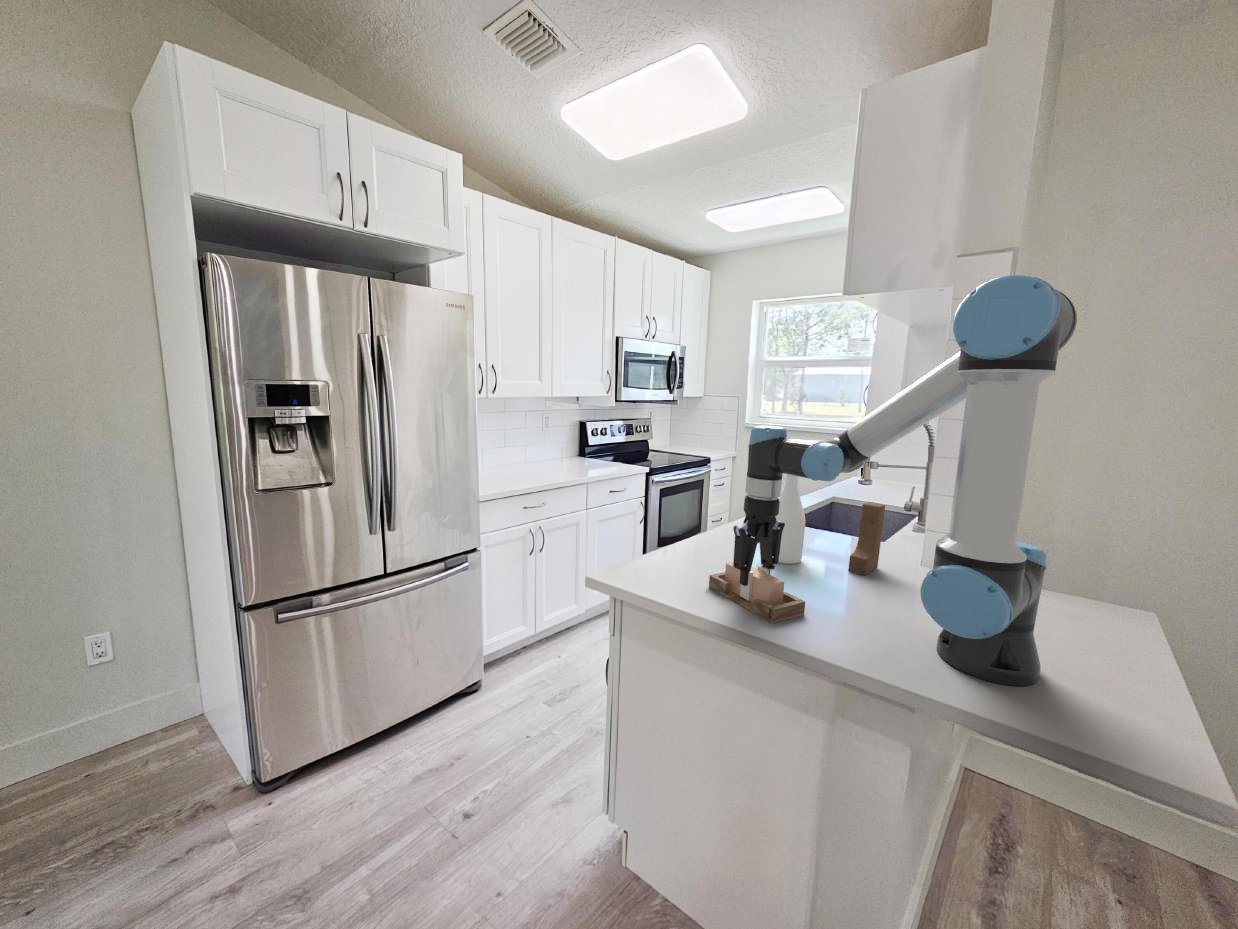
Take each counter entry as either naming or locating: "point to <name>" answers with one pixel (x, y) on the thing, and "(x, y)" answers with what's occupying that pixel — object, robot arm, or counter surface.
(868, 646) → the counter surface
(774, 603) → the peach rectangular block
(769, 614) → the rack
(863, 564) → the wooden block
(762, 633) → the counter surface
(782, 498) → the wine bottle
